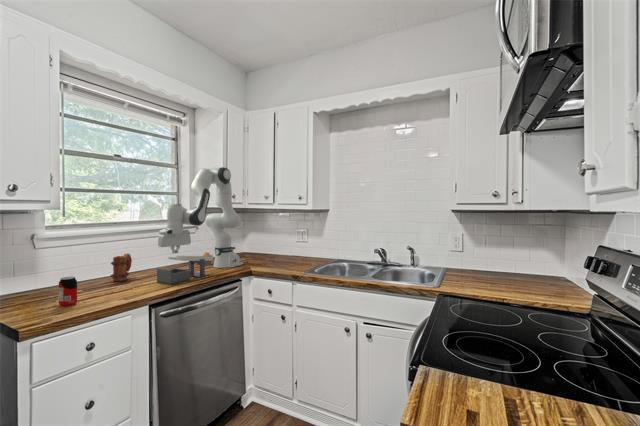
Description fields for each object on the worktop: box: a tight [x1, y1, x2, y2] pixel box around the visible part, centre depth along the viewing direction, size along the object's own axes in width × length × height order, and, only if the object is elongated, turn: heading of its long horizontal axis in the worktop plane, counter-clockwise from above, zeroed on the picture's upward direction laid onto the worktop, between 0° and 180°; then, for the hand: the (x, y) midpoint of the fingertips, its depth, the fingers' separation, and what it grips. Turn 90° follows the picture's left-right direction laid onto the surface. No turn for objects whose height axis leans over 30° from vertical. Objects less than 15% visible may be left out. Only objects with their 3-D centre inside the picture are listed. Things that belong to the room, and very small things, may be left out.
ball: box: [202, 252, 211, 257], centre depth 202 cm, size 4×4×4 cm
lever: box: [168, 254, 215, 266], centre depth 197 cm, size 22×16×6 cm
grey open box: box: [156, 267, 191, 286], centre depth 182 cm, size 13×13×8 cm
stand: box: [188, 259, 211, 279], centre depth 196 cm, size 8×14×11 cm, turn 60°
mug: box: [110, 253, 133, 282], centre depth 187 cm, size 15×8×15 cm, turn 179°
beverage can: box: [58, 276, 78, 307], centre depth 138 cm, size 6×6×12 cm
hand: (175, 253), depth 191 cm, fingers closed
